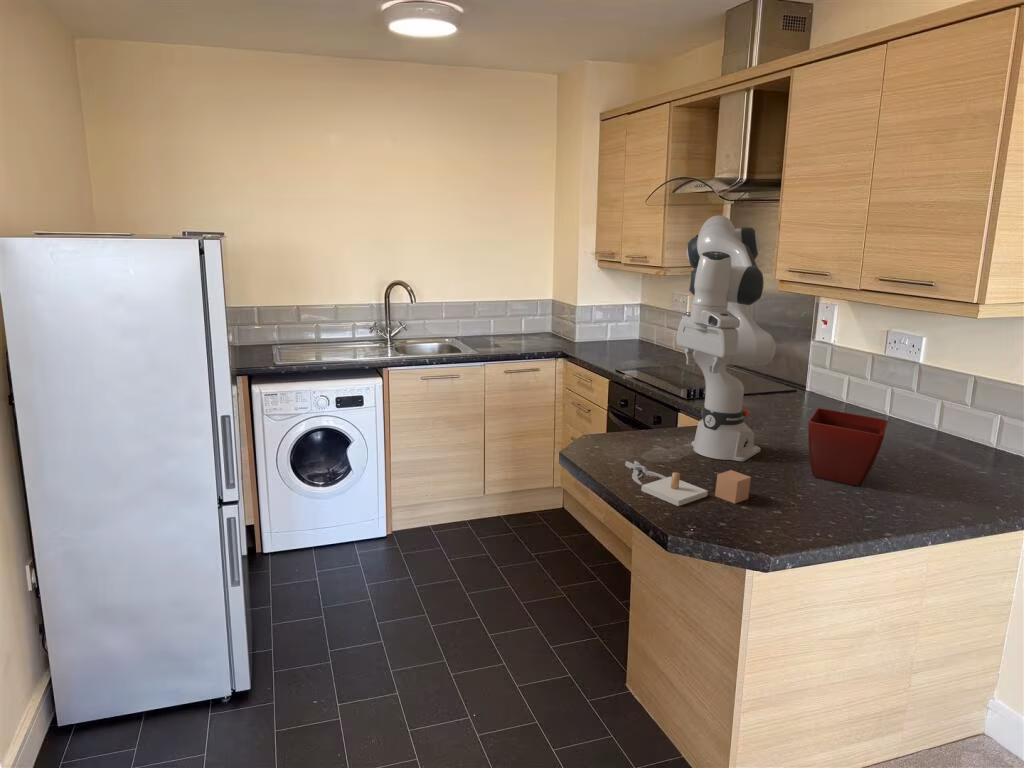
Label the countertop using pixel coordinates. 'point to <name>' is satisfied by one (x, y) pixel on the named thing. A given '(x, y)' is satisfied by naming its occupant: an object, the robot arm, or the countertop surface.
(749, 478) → the tan cardboard cube
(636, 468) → the pliers
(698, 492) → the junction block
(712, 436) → the robot arm
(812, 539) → the countertop surface
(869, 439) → the plant pot
